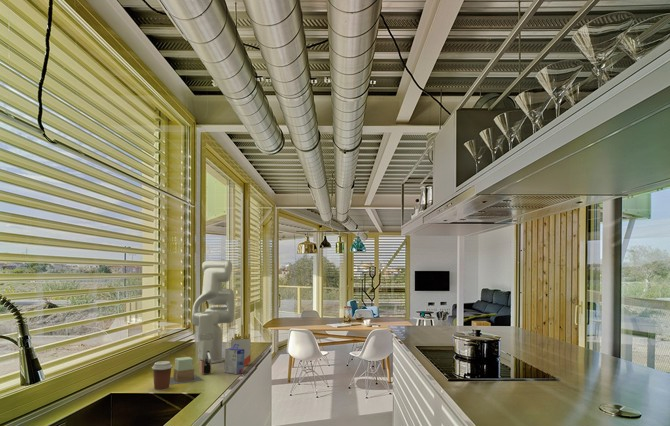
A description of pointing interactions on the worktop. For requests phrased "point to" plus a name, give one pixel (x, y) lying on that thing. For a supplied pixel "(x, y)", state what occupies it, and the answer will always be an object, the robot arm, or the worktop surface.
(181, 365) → the block top
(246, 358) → the french fries container
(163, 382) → the coffee cup
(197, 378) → the mat
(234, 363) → the ink cartridge box
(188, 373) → the block bottom
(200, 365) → the block pick
